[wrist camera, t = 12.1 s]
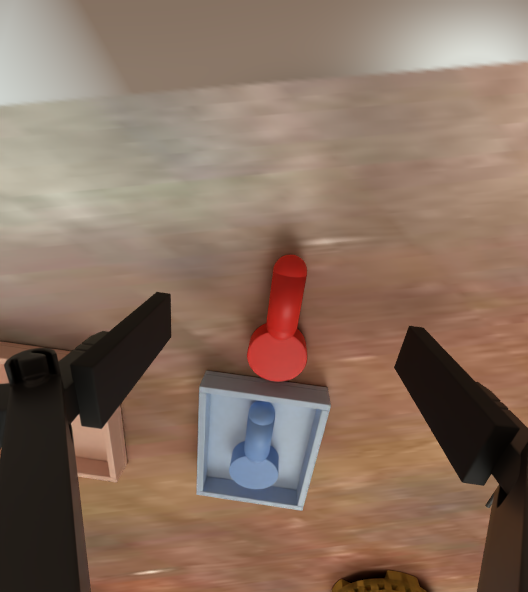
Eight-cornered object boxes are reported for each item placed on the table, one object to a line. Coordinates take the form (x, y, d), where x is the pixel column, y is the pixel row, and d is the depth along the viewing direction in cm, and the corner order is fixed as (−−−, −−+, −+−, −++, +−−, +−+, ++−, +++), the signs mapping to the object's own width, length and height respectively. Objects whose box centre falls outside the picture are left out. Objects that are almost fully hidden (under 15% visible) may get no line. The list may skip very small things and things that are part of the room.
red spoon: (260, 246, 19) (256, 254, 17) (324, 255, 19) (329, 264, 17) (247, 364, 22) (243, 383, 20) (300, 372, 22) (302, 391, 20)
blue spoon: (238, 390, 23) (233, 410, 21) (290, 397, 23) (291, 418, 21) (230, 468, 27) (226, 492, 25) (275, 475, 27) (274, 499, 25)
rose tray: (-2, 340, 23) (-27, 354, 22) (114, 357, 23) (100, 372, 21) (31, 448, 29) (14, 467, 27) (127, 463, 28) (116, 482, 27)
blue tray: (205, 370, 23) (199, 386, 21) (327, 387, 23) (331, 405, 21) (202, 474, 28) (196, 494, 26) (301, 489, 28) (302, 511, 26)
